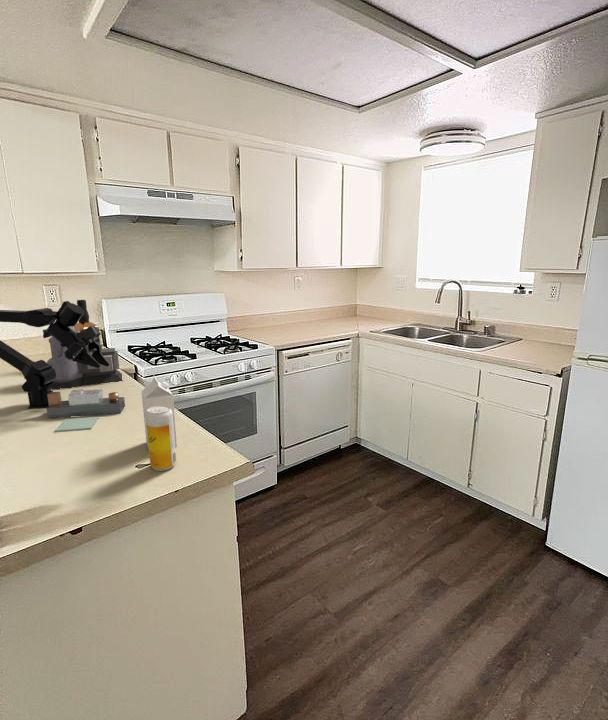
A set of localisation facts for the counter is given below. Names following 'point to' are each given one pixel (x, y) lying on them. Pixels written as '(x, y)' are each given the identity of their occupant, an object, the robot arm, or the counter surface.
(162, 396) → the milk carton
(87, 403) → the lever cap
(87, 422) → the mat
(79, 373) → the juicer
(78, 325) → the whiskey bottle
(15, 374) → the counter surface
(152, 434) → the beer can
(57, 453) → the counter surface
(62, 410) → the hand plane
